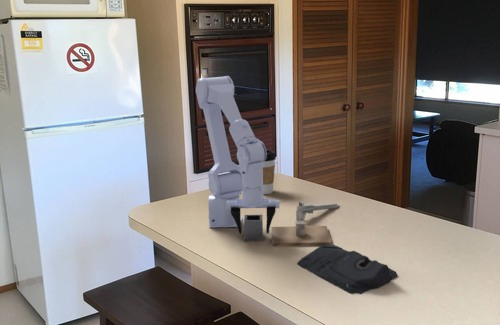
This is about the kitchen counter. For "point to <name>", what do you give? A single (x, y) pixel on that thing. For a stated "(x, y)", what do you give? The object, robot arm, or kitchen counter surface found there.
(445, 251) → the kitchen counter surface
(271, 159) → the coffee cup
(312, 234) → the post base
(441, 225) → the kitchen counter surface
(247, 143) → the robot arm
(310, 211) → the caliper
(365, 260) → the dark slate chunk
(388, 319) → the kitchen counter surface
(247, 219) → the steel collar
